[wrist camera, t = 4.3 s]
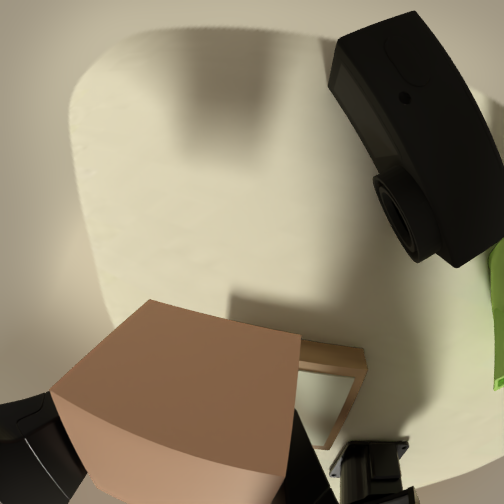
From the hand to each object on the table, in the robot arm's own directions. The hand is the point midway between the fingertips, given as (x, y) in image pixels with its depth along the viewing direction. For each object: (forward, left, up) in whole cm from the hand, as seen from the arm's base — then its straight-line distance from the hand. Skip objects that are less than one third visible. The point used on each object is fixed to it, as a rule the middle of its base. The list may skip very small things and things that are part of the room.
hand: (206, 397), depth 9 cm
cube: (0, 0, -1) cm, 1 cm away
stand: (-8, -4, -11) cm, 14 cm away
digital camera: (+10, -7, -11) cm, 16 cm away
